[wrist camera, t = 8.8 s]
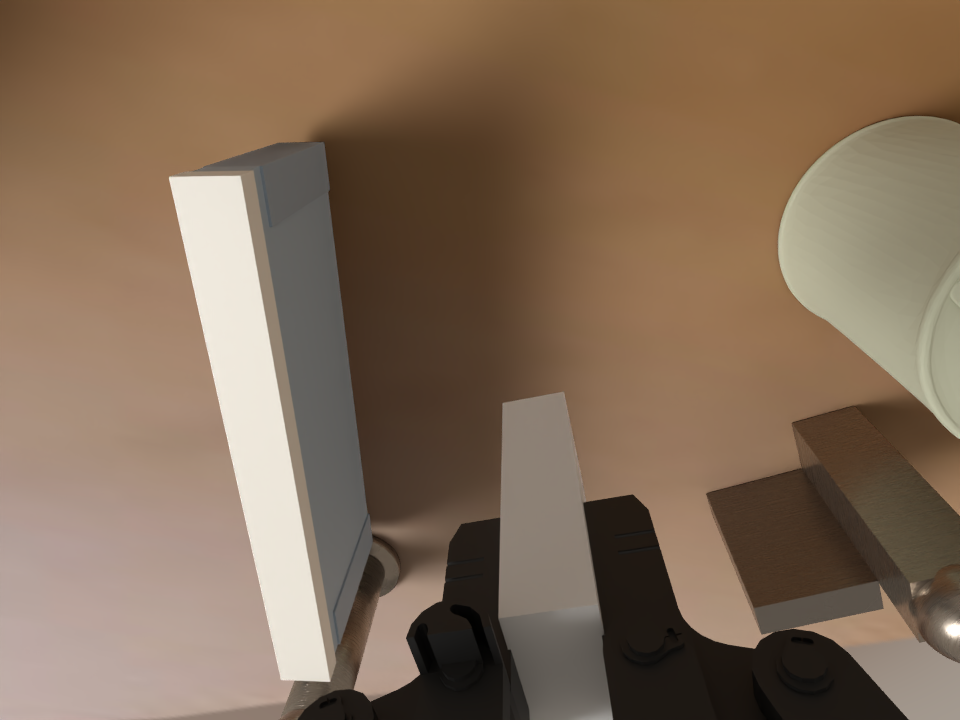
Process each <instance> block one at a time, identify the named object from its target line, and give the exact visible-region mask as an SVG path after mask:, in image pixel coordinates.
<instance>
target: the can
mask: <svg viewBox="0 0 960 720" xmlns="http://www.w3.org/2000/svg"><path fill="white" fill-rule="evenodd" d="M778 256H779V262H780V267H781V271H782V274H783V277H784V279H785V281H786V283H787V285H788V287H789V289H790V290H791V292H792V293H793V295H794V296H795V297H796V298H797V299H798V301H799V302H800V303H801V304H802V305H803V306H805V307H806V308H807V309H808V310H810V311H811V312H813V313H814V314H816V315H817V316H819V317H821V318H823V319H825V320H827V321H828V322H829V323H831V324H832V325H833V326H834V327H835V328H837V329H838V330H839V331H840V332H841V333H843V334H844V335H845V336H846V337H847V338H849V339H850V340H851V341H852V342H853V343H854V344H855V345H857V346H858V347H859V348H860V349H861V350H862V351H864V352H865V353H866V354H867V355H868V356H869V357H871V358H872V359H873V360H874V361H875V362H876V363H878V364H879V365H880V366H881V367H882V368H883V369H885V370H886V371H887V372H888V373H889V374H890V375H891V376H893V377H894V378H895V379H896V380H897V381H898V382H899V383H900V384H901V385H903V386H904V387H905V388H906V389H907V390H908V391H909V392H910V393H912V394H913V395H914V396H915V397H916V398H917V399H918V400H919V401H921V402H922V403H923V404H924V405H925V406H926V407H927V408H928V409H929V410H930V411H931V412H932V413H933V414H934V415H935V416H936V418H937V419H938V420H939V421H940V422H941V423H942V425H943V426H945V427H946V428H947V429H948V430H949V431H950V432H951V433H952V434H953V435H955V436H956V437H957V438H959V439H960V124H958V123H956V122H953V121H950V120H947V119H942V118H937V117H930V116H907V117H899V118H894V119H889V120H885V121H882V122H878V123H876V124H873V125H870V126H868V127H865V128H863V129H861V130H859V131H857V132H855V133H853V134H851V135H849V136H848V137H846V138H844V139H843V140H841V141H840V142H838V143H837V144H836V145H834V146H833V147H831V148H830V149H829V150H828V151H827V152H826V153H824V154H823V155H822V156H821V157H820V158H819V159H818V160H817V161H816V162H815V163H814V164H813V165H812V166H811V167H810V168H809V169H808V171H807V172H806V173H805V174H804V176H803V177H802V179H801V180H800V181H799V183H798V184H797V186H796V187H795V189H794V191H793V193H792V195H791V197H790V199H789V201H788V203H787V205H786V208H785V210H784V213H783V216H782V220H781V224H780V229H779V236H778Z"/></svg>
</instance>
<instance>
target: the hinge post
mask: <svg viewBox="0 0 960 720" xmlns="http://www.w3.org/2000/svg"><path fill="white" fill-rule="evenodd" d="M372 539H373V543H372V546H371V550H370V553H369V556H368V559H367V562H366V565H365V568H364V571H363V574H362V578H361V581H360V584H359V587H358V590H357V593H356V596H355V599H354V602H353V606H352V609H351V612H350V615H349V618H348V621H347V624H346V627H345V630H344V634H343V637H342V640H341V643H340V644H338V646H337V649H336V652H335V657H336V665H335V669H334V672H333V675H332V678H331V681H330V682H320V681H296V680H295V681H294V684H293V687H292V689H291V692H290V695H289V697H288V700H287V703H286V705H285V708H284V711H283V714H282V716H281V718H280V719H279V720H298V718H299V717H300V715H301V714H302V713H303V711H304V710H305V709H306V708H307V707H308V706H310V705H311V704H312V703H313V702H314V701H316V700H317V699H318V698H319V697H322V696H324V695H326V694H328V693H331V692H333V691H335V690H345V689H352V690H354V686H355V682H356V679H357V675H358V672H359V668H360V664H361V661H362V657H363V654H364V650H365V646H366V643H367V639H368V635H369V632H370V628H371V625H372V621H373V617H374V614H375V610H376V607H377V603H378V599H379V597H381V596H383V595H386V594H387V593H389V592H390V591H391V590H392V589H393V588H394V587H395V585H396V584H397V581H398V578H399V574H400V568H401V565H400V560H399V557H398V555H397V553H396V552H395V550H394V549H393V548H392V547H391V546H390V545H389V544H387V543H386V542H384V541H383V540H381V539H379V538H376V537H373V536H372Z"/></svg>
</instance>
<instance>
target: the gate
mask: <svg viewBox="0 0 960 720" xmlns="http://www.w3.org/2000/svg"><path fill="white" fill-rule="evenodd" d="M169 180H170V184H171V189H172V193H173V198H174V202H175V207H176V211H177V216H178V220H179V225H180V229H181V234H182V238H183V243H184V247H185V251H186V256H187V260H188V265H189V269H190V274H191V278H192V283H193V287H194V292H195V296H196V301H197V305H198V310H199V314H200V319H201V323H202V328H203V332H204V337H205V341H206V346H207V350H208V355H209V359H210V364H211V368H212V372H213V377H214V381H215V386H216V390H217V395H218V399H219V404H220V408H221V413H222V417H223V422H224V426H225V431H226V435H227V440H228V444H229V449H230V453H231V458H232V462H233V467H234V471H235V476H236V480H237V484H238V489H239V493H240V498H241V502H242V507H243V511H244V516H245V520H246V525H247V529H248V534H249V538H250V543H251V547H252V552H253V556H254V561H255V565H256V570H257V574H258V579H259V583H260V588H261V592H262V596H263V601H264V605H265V610H266V614H267V619H268V623H269V628H270V632H271V637H272V641H273V646H274V650H275V655H276V659H277V664H278V668H279V673H280V677H281V680H296V681H320V682H330V681H331V678H332V675H333V672H334V669H335V665H336V657H335V652H336V649H337V646H338V644H340V643H341V640H342V637H343V634H344V630H345V627H346V624H347V621H348V618H349V615H350V612H351V609H352V606H353V602H354V599H355V596H356V593H357V590H358V587H359V584H360V581H361V578H362V574H363V571H364V568H365V565H366V562H367V559H368V556H369V553H370V550H371V546H372V543H373V539H372V531H371V523H370V515H369V514H368V513H367V505H366V497H365V488H364V480H363V472H362V464H361V456H360V448H359V440H358V431H357V423H356V415H355V407H354V399H353V391H352V383H351V375H350V366H349V358H348V350H347V342H346V334H345V326H344V318H343V309H342V301H341V293H340V285H339V277H338V269H337V261H336V253H335V244H334V236H333V228H332V220H331V212H330V204H329V196H328V191H329V190H330V185H329V177H328V169H327V161H326V152H325V144H324V142H295V143H276V144H273V145H270V146H267V147H264V148H260V149H257V150H254V151H251V152H248V153H245V154H242V155H239V156H235V157H232V158H229V159H226V160H223V161H220V162H217V163H214V164H210V165H207V166H204V167H203V168H201V169H198V170H195V171H192V172H183V173H179V174H176V175H173V176H170V177H169Z"/></svg>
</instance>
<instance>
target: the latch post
mask: <svg viewBox="0 0 960 720" xmlns="http://www.w3.org/2000/svg"><path fill="white" fill-rule="evenodd" d="M792 426H793V430H794V435H795V439H796V444H797V448H798V452H799V457H800V461H801V466H802V469H799V470H795V471H791V472H787V473H783V474H780V475H776V476H772V477H768V478H764V479H760V480H757V481H753V482H749V483H745V484H741V485H738V486H734V487H730V488H726V489H722V490H718V491H715V492H711V493H707V494H706V495H707V498H708V502H709V505H710V508H711V512H712V515H713V518H714V520H715V523H716V525H717V528H718V530H719V532H720V535H721V537H722V540H723V542H724V545H725V547H726V549H727V552H728V554H729V557H730V559H731V562H732V564H733V566H734V569H735V571H736V574H737V576H738V579H739V581H740V583H741V586H742V588H743V591H744V593H745V596H746V598H747V601H748V603H749V605H750V608H751V610H752V613H753V615H754V618H755V620H756V622H757V625H758V627H759V630H760V632H761V634H766V633H771V632H776V631H780V630H785V629H790V628H794V627H799V626H804V625H809V624H813V623H818V622H823V621H828V620H832V619H837V618H842V617H846V616H851V615H856V614H861V613H865V612H870V611H875V610H879V609H884V608H883V603H882V597H881V592H880V587H879V584H880V585H881V587H882V588H883V590H884V591H885V593H886V594H887V596H888V597H889V598H890V600H891V601H892V603H893V604H894V606H895V607H896V609H897V610H898V612H899V613H900V615H901V616H902V618H903V619H904V621H905V622H906V624H907V625H908V626H909V628H910V629H911V631H912V632H913V634H914V635H915V637H916V638H917V640H918V641H919V642H925V641H926V642H927V643H928V644H929V645H930V646H931V647H932V648H933V649H934V650H936V651H937V652H939V653H940V654H942V655H943V656H945V657H947V658H949V659H951V660H953V661H955V662H958V663H960V516H959V515H958V514H957V513H956V512H955V511H954V510H953V509H952V507H951V506H950V505H949V504H948V503H947V502H946V501H945V500H944V499H943V498H942V497H941V496H940V495H939V494H938V493H937V492H936V491H935V490H934V489H933V488H932V487H931V486H930V484H929V483H928V482H927V481H926V480H925V479H924V478H923V477H922V476H921V475H920V474H919V473H918V472H917V471H916V470H915V469H914V468H913V467H912V466H911V465H910V464H909V463H908V461H907V460H906V459H905V458H904V457H903V456H902V455H901V454H900V453H899V452H898V451H897V450H896V449H895V448H894V447H893V446H892V445H891V444H890V443H889V442H888V441H887V440H886V438H885V437H884V436H883V435H882V434H881V433H880V432H879V431H878V430H877V429H876V428H875V427H874V426H873V425H872V424H871V423H870V422H869V421H868V420H867V419H866V418H865V417H864V415H863V414H862V413H861V412H860V411H859V410H858V409H857V408H856V407H855V406H852V407H848V408H845V409H841V410H837V411H834V412H830V413H827V414H823V415H819V416H816V417H812V418H809V419H805V420H801V421H798V422H794V423H792Z"/></svg>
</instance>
